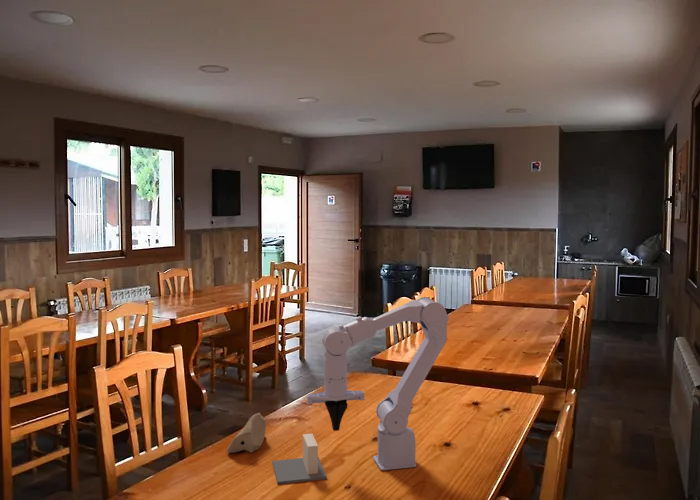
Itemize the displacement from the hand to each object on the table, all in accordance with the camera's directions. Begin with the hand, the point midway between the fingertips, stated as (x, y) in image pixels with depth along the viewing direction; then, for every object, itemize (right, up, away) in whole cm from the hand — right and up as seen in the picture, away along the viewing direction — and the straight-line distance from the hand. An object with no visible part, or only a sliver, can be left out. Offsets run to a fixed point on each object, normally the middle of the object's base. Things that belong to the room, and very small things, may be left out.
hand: (335, 429), depth 151 cm
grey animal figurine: (-25, -9, +14) cm, 30 cm away
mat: (-9, -10, -1) cm, 14 cm away
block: (-6, -9, 0) cm, 11 cm away
